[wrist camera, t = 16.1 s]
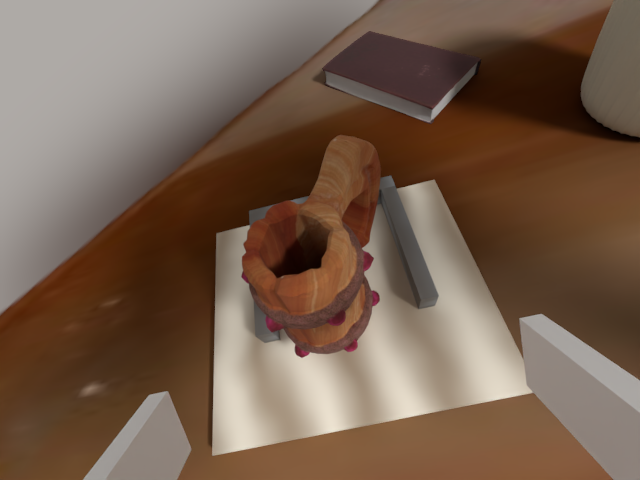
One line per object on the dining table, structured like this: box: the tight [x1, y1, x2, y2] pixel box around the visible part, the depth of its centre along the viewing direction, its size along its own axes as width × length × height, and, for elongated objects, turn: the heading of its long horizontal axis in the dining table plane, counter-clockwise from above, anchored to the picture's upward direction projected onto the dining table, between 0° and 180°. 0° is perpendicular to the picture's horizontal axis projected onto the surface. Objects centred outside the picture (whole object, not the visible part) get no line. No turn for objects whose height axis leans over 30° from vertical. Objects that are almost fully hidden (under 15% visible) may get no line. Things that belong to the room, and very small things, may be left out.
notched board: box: [212, 176, 534, 456], centre depth 30 cm, size 26×22×4 cm
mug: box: [241, 135, 381, 358], centre depth 24 cm, size 15×8×15 cm, turn 151°
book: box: [322, 31, 481, 124], centre depth 47 cm, size 12×19×3 cm, turn 48°
